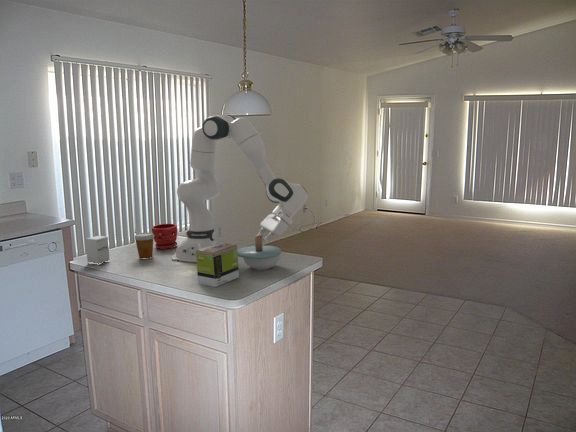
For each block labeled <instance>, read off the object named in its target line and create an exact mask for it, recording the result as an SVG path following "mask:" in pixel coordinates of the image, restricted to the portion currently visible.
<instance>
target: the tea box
mask: <svg viewBox="0 0 576 432" xmlns="http://www.w3.org/2000/svg"><path fill="white" fill-rule="evenodd" d="M237 251H238V245H237V244H235V243H227V242H220V241H219V242H217V243H216V242H215V244H213V245H210V246H207V247H204V248H201V249H198V250H196V260H197V262H196V268H197V269H196V270H197V271H196V272H197V283H198V284H199V285H202V286H208V287H213V288H217V287H218V286H221V285H224V284H226V283H228V282H231V281H233V280H236V279H238V278H240V269H239V256H238V253H237Z"/></svg>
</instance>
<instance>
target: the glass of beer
mask: <svg viewBox="0 0 576 432" xmlns="http://www.w3.org/2000/svg"><path fill="white" fill-rule="evenodd" d="M133 238H134V240H135V244H136V249H137V254H138V258H150V257H152V258H153V250H154V249H153V248H154V235H153V233H152V232H139V233H136V234H134V237H133ZM150 259H151V258H150Z"/></svg>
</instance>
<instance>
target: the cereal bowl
mask: <svg viewBox="0 0 576 432" xmlns="http://www.w3.org/2000/svg"><path fill="white" fill-rule="evenodd" d="M242 259H243V261H244V263H245V264H246V266H248V267H250V268H251V269H254V270H256V271H257V270H258V271H264V270H270V269H271V268H272V267H275V266H276V265H277V264H278V263H279V262H280V260H281V254H280V255H278V256H275V257H270V258H263V259H249V258H243V257H242Z"/></svg>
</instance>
